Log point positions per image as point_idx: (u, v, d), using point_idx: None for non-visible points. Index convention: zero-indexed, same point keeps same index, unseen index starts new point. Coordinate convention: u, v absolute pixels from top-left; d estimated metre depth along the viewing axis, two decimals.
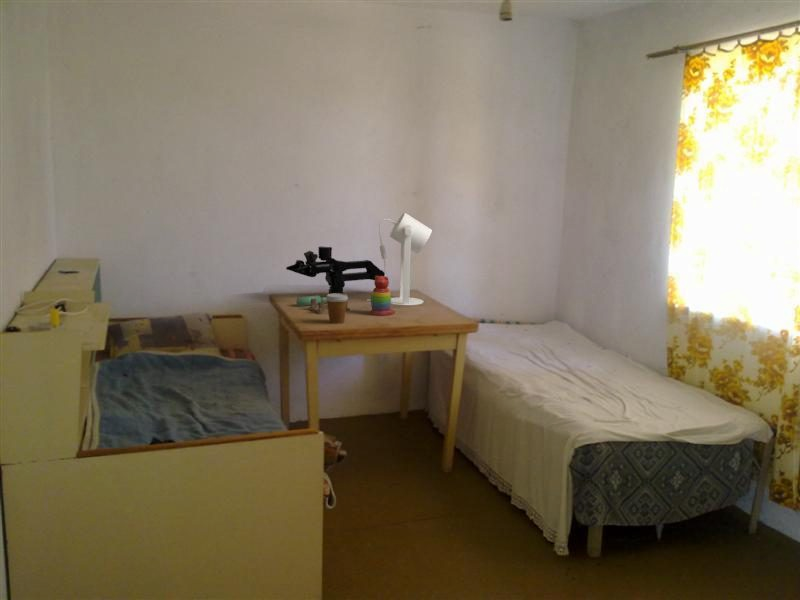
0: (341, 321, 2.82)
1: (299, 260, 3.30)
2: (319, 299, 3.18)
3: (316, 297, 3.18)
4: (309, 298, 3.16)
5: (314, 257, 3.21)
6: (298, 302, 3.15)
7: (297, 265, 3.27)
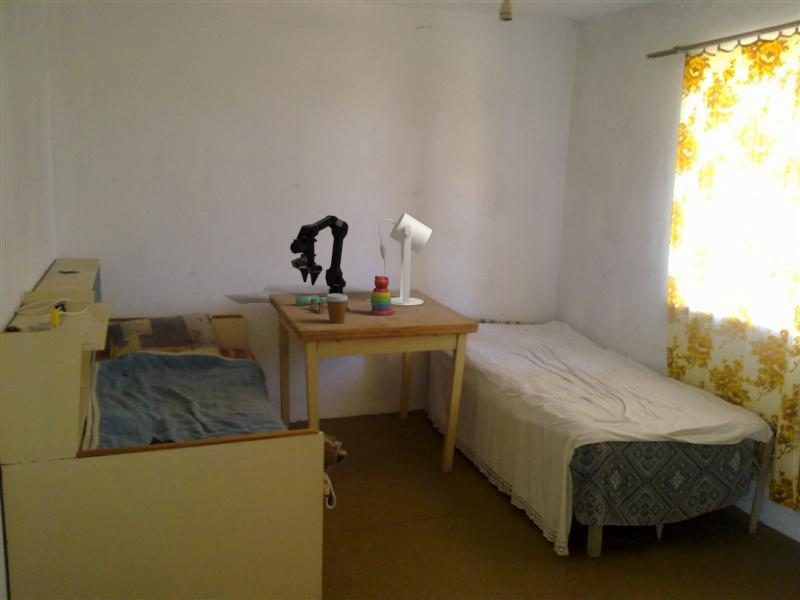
0: (341, 321, 2.82)
1: None
2: (317, 296, 3.20)
3: (314, 295, 3.20)
4: (307, 296, 3.18)
5: (301, 262, 3.07)
6: (297, 301, 3.16)
7: (302, 270, 3.18)
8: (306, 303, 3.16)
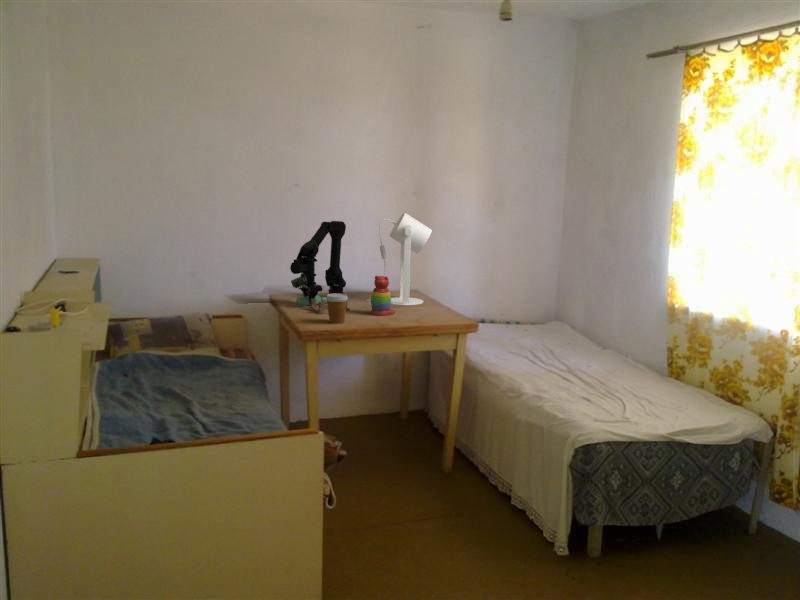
0: (341, 321, 2.82)
1: None
2: (319, 298, 3.18)
3: (316, 297, 3.18)
4: None
5: (301, 282, 3.09)
6: (298, 302, 3.14)
7: (304, 290, 3.18)
8: (306, 305, 3.16)
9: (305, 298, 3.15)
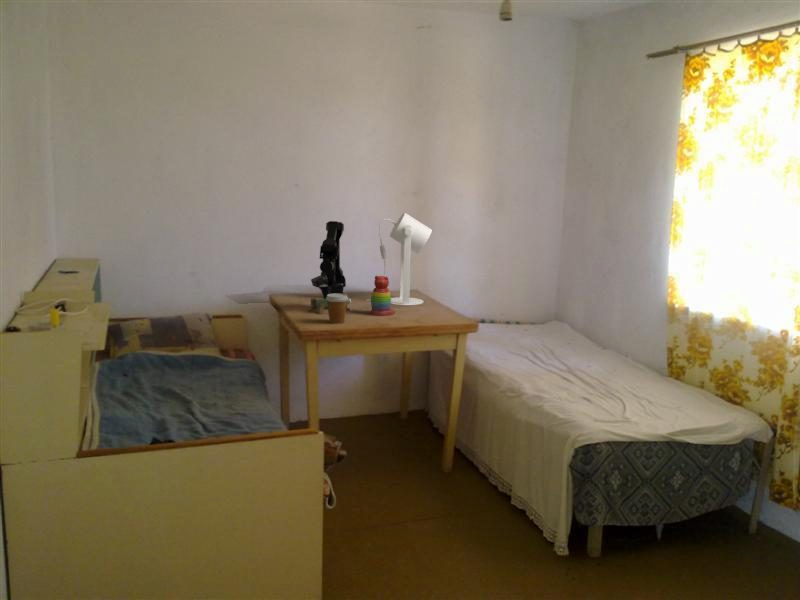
0: (341, 321, 2.82)
1: None
2: None
3: None
4: None
5: (321, 281, 2.99)
6: None
7: (323, 288, 3.09)
8: (326, 307, 3.06)
9: (325, 300, 3.05)
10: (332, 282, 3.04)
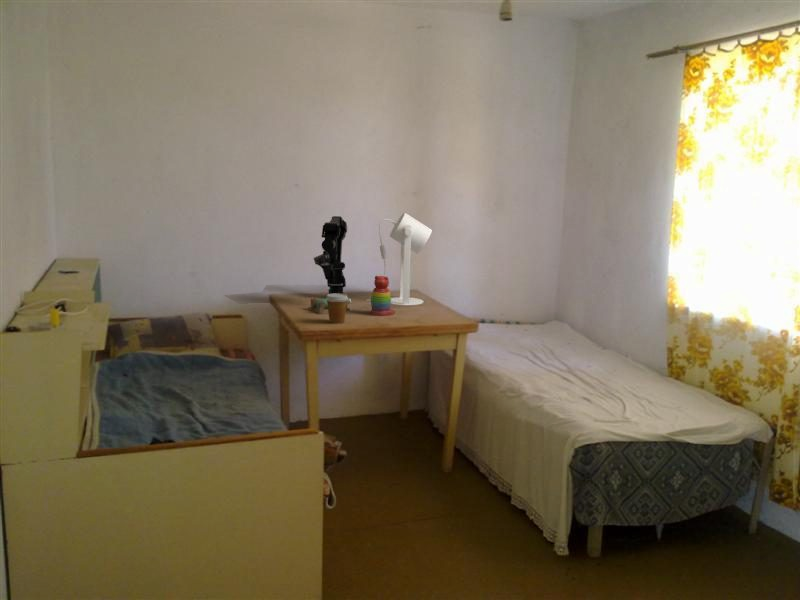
0: (341, 321, 2.82)
1: None
2: None
3: None
4: None
5: (323, 259, 3.09)
6: None
7: (324, 267, 3.20)
8: (326, 307, 3.06)
9: (325, 300, 3.05)
10: (334, 260, 3.14)
